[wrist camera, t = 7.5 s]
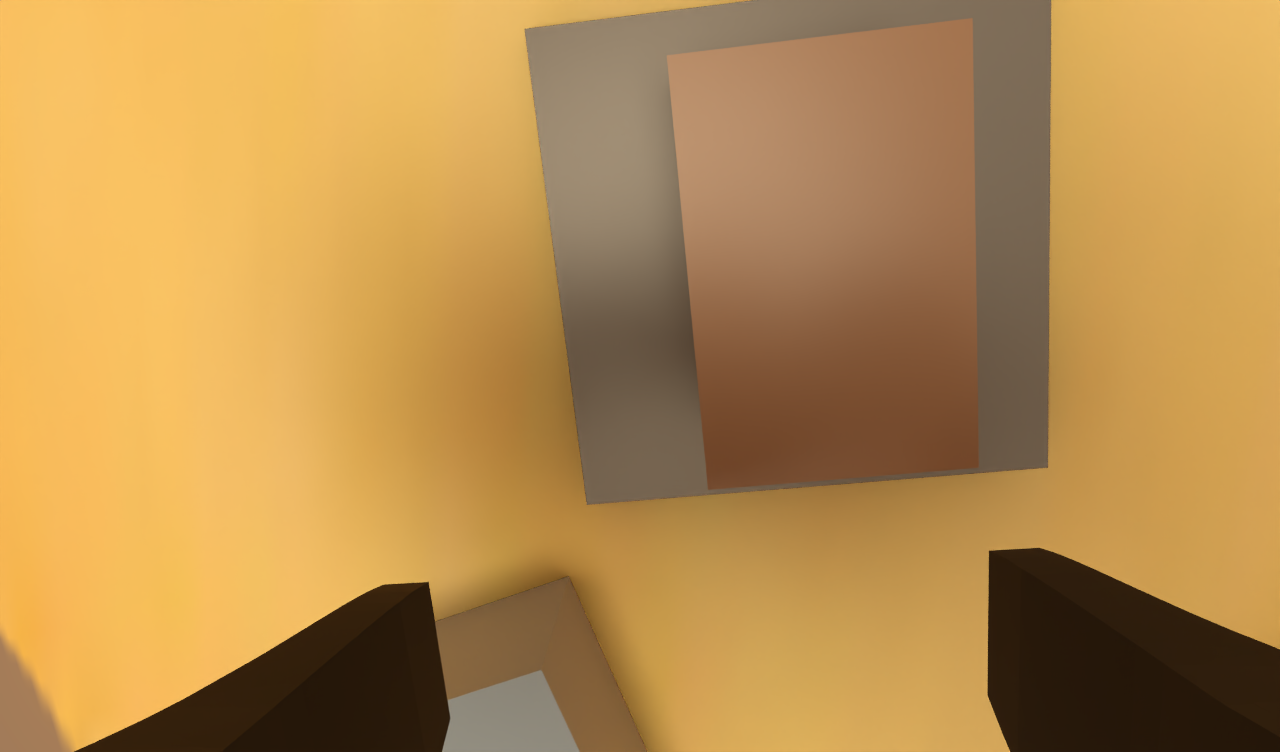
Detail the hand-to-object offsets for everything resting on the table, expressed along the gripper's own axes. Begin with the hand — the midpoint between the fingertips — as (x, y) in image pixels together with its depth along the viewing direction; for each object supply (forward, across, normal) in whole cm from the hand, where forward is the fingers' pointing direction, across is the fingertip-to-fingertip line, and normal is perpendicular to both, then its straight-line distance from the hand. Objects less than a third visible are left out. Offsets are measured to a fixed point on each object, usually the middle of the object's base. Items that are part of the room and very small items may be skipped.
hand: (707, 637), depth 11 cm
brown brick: (+8, -2, -4) cm, 9 cm away
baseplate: (+8, -2, -4) cm, 10 cm away
